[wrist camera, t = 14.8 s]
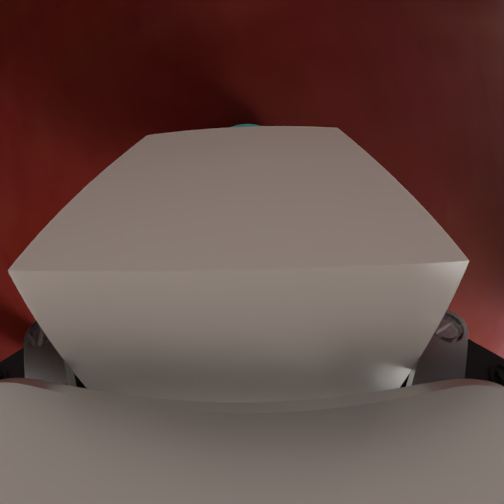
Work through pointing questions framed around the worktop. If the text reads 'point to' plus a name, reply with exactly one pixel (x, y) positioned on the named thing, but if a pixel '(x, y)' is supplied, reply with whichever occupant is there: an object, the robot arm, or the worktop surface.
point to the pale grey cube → (241, 270)
